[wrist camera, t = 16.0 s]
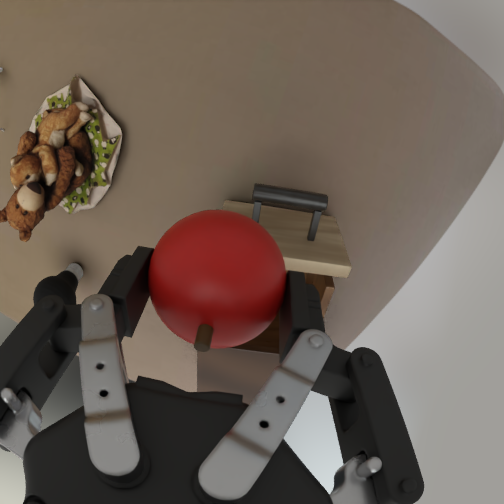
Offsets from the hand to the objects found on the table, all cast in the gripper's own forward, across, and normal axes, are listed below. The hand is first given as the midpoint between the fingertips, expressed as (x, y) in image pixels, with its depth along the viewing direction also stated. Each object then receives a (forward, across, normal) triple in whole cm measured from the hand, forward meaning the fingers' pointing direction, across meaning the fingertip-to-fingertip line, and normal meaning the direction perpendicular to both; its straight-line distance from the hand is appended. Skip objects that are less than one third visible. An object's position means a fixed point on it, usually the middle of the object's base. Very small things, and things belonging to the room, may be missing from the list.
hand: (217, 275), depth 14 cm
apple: (+3, 0, 0) cm, 3 cm away
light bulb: (+19, +21, +18) cm, 34 cm away
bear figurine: (+19, +20, +1) cm, 27 cm away
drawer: (+18, -4, +9) cm, 20 cm away
